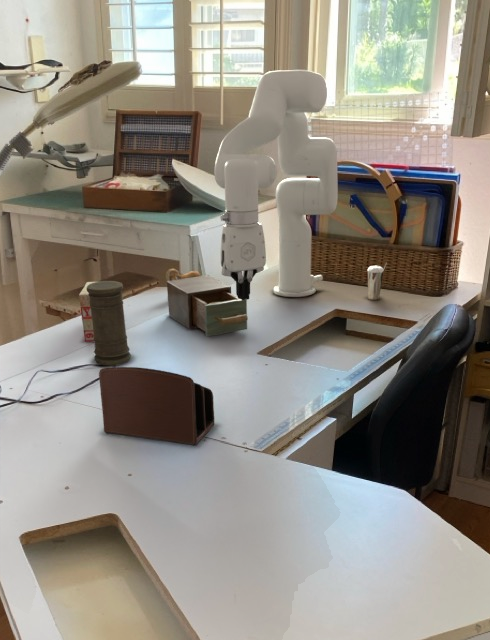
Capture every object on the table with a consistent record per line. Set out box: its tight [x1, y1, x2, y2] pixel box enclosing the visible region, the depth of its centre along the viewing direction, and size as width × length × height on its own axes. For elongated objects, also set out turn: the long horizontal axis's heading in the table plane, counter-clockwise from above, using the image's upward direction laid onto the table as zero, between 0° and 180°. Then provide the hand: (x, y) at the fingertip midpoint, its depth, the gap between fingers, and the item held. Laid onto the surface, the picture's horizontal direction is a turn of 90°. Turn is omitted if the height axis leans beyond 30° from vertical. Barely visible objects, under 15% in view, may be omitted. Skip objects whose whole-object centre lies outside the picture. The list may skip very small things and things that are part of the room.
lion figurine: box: [165, 268, 202, 282], centre depth 243 cm, size 15×5×9 cm, turn 136°
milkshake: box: [366, 262, 388, 301], centre depth 234 cm, size 4×5×10 cm
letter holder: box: [98, 366, 215, 446], centre depth 158 cm, size 10×20×14 cm, turn 69°
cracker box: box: [78, 281, 96, 343], centre depth 216 cm, size 21×6×12 cm, turn 179°
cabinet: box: [166, 274, 232, 330], centre depth 222 cm, size 15×13×10 cm
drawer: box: [190, 290, 248, 337], centre depth 212 cm, size 18×11×8 cm, turn 25°
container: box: [87, 280, 132, 367], centre depth 193 cm, size 9×9×18 cm
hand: (243, 298), depth 197 cm, fingers closed
